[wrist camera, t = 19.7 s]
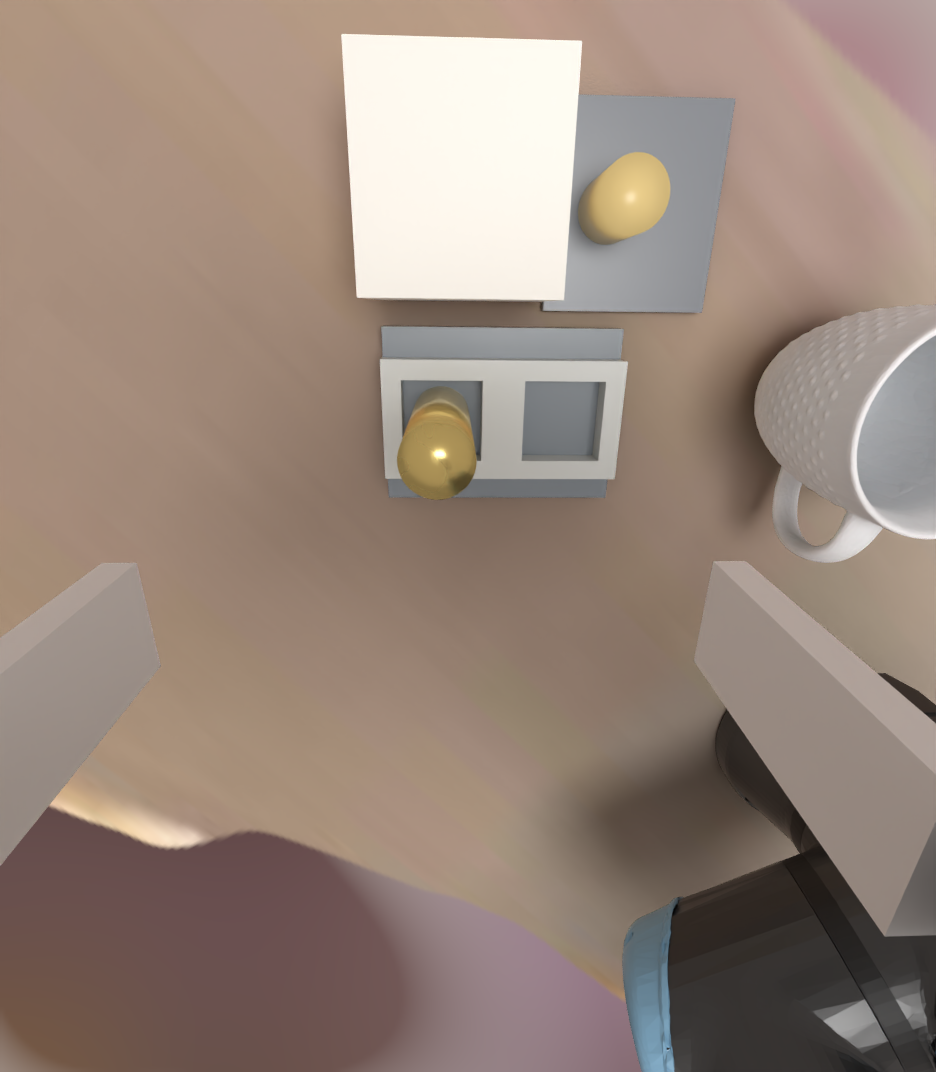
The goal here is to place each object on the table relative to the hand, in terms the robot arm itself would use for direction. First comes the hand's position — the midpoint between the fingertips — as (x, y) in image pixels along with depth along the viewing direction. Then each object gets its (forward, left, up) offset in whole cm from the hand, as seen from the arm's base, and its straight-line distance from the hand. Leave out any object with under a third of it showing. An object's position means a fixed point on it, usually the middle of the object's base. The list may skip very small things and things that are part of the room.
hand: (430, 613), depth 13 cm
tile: (+12, -11, -27) cm, 31 cm away
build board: (0, -4, -27) cm, 27 cm away
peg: (0, 0, -25) cm, 25 cm away
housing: (+12, -1, -27) cm, 29 cm away
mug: (0, -24, -27) cm, 36 cm away
